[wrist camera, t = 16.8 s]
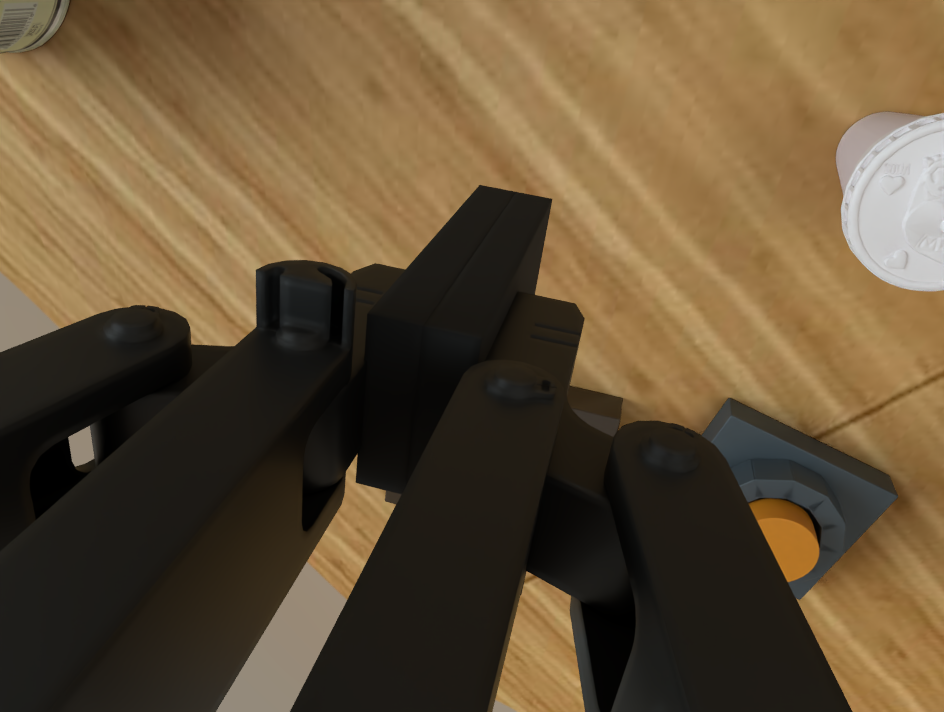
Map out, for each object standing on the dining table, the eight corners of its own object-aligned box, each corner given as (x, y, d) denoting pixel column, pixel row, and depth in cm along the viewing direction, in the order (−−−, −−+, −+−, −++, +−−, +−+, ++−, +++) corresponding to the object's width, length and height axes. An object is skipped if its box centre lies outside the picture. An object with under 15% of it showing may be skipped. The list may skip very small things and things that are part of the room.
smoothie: (820, 236, 37) (893, 364, 25) (790, 111, 35) (855, 184, 23) (967, 194, 35) (1126, 312, 23) (945, 57, 33) (1107, 107, 21)
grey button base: (649, 506, 47) (648, 549, 43) (728, 396, 42) (734, 434, 39) (795, 577, 47) (805, 625, 43) (889, 475, 42) (909, 520, 39)
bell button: (713, 539, 42) (714, 560, 41) (757, 485, 40) (760, 505, 39) (783, 573, 42) (787, 596, 41) (831, 521, 40) (837, 542, 39)
